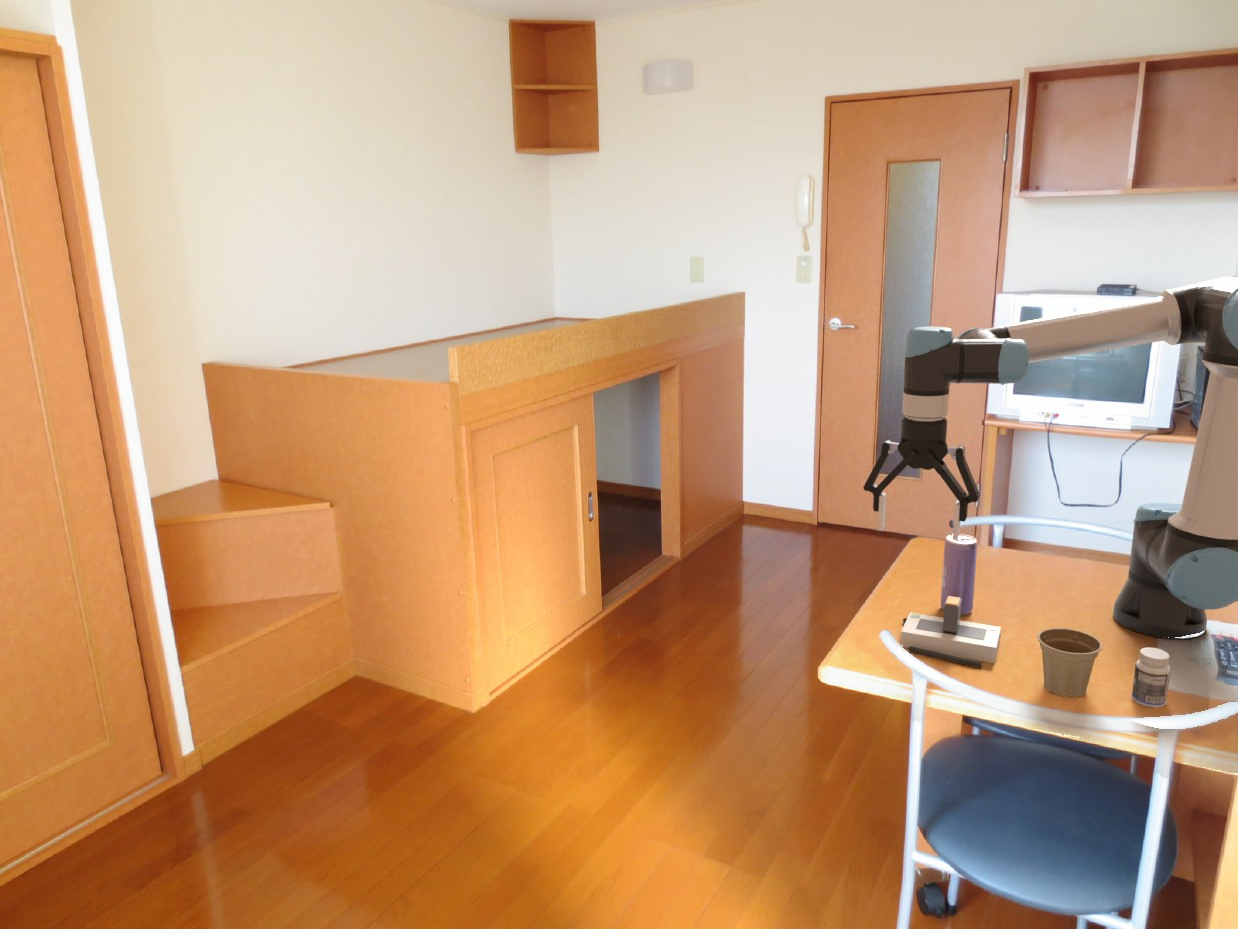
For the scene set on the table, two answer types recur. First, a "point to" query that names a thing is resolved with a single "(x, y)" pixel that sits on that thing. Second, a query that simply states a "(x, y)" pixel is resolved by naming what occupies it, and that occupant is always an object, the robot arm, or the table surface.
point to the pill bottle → (1151, 678)
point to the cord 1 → (945, 657)
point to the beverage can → (959, 571)
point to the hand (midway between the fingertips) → (918, 533)
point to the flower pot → (1068, 660)
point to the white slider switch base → (951, 637)
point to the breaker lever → (952, 614)
